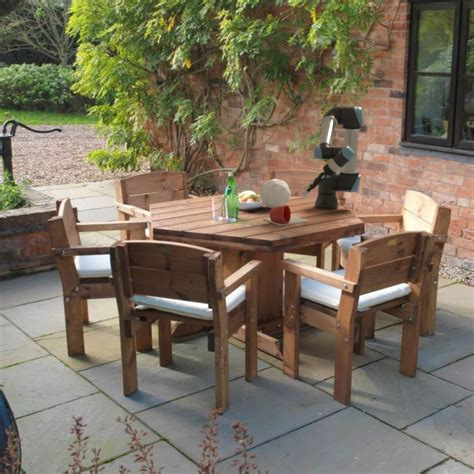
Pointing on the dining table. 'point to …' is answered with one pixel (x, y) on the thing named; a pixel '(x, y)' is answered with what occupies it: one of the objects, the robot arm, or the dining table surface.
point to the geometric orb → (275, 193)
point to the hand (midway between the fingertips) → (305, 192)
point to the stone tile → (292, 221)
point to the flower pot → (280, 214)
